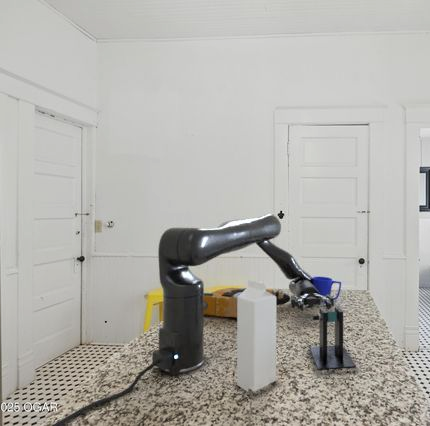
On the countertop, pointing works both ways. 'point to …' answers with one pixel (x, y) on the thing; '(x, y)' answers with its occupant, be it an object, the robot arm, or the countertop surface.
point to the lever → (328, 317)
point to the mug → (325, 286)
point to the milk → (256, 337)
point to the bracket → (333, 354)
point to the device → (232, 301)
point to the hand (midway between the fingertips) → (315, 307)
